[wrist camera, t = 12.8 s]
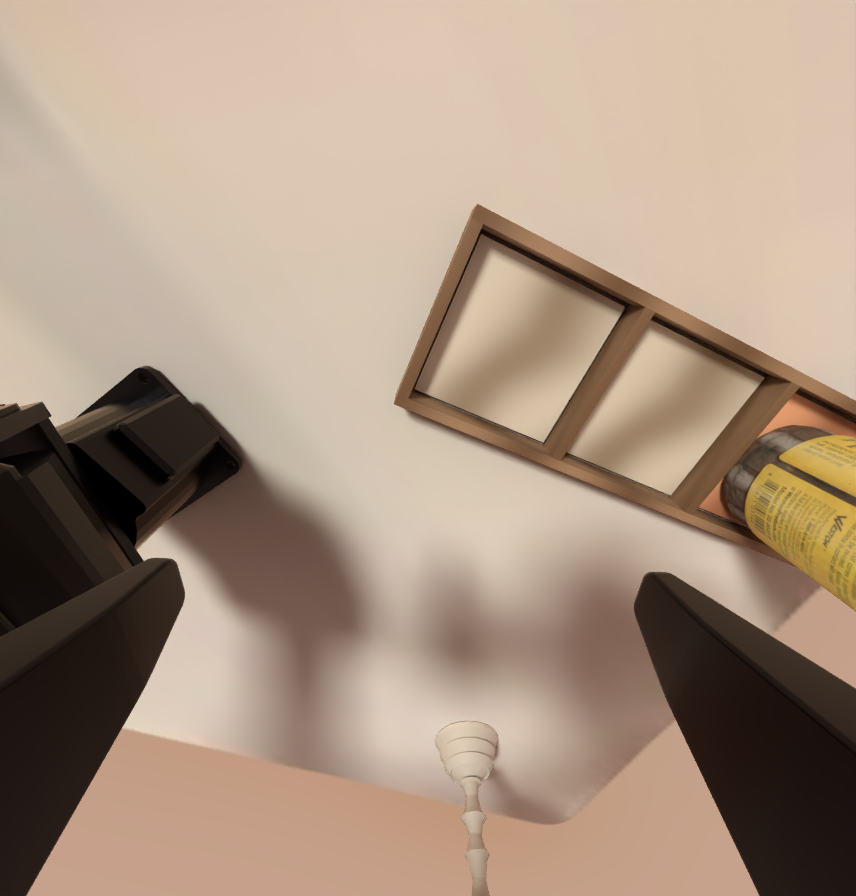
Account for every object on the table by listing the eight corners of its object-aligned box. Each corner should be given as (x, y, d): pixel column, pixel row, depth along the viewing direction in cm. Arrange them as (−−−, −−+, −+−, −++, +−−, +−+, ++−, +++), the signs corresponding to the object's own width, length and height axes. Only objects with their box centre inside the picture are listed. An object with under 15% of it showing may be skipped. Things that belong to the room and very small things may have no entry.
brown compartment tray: (395, 394, 20) (394, 404, 18) (472, 209, 16) (477, 203, 15) (778, 551, 24) (800, 568, 23) (899, 429, 21) (933, 441, 19)
